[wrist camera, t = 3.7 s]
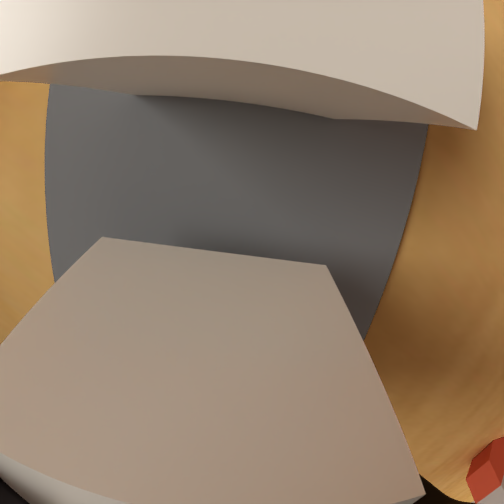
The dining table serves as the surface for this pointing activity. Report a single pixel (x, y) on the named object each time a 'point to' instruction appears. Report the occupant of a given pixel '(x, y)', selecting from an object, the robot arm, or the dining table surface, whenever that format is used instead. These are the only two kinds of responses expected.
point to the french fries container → (488, 474)
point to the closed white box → (261, 53)
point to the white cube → (196, 387)
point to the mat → (231, 183)
